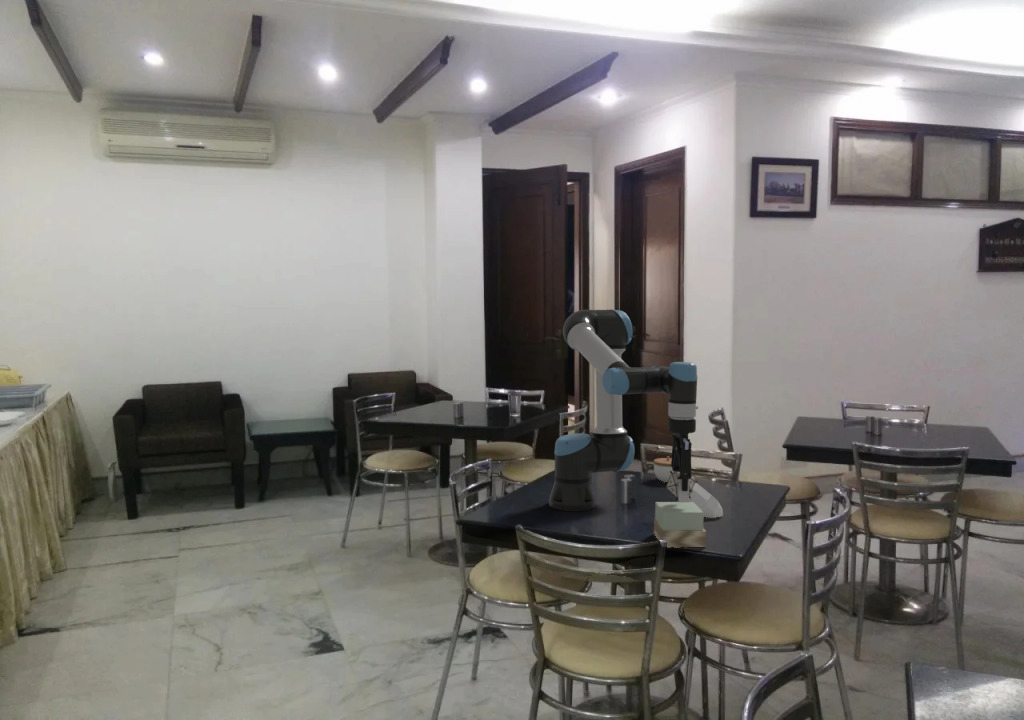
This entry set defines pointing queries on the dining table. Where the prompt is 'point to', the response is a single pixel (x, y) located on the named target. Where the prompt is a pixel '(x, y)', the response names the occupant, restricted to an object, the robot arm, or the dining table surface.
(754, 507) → the dining table surface
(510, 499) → the dining table surface
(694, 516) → the tower top block
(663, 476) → the lidded jar
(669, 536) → the tower base block
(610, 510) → the dining table surface
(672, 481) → the game die
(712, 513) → the chamfered grey bar
